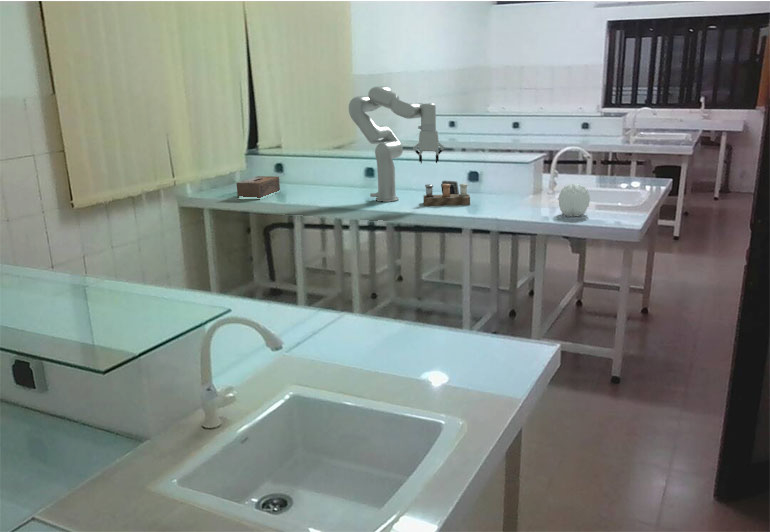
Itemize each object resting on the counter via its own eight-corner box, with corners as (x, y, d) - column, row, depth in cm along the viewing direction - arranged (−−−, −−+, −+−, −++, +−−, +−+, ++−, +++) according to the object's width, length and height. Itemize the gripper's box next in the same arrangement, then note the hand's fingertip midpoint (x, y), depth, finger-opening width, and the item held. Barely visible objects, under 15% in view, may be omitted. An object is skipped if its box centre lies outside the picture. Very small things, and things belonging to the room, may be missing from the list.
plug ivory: (459, 198, 341) (459, 184, 339) (459, 196, 345) (459, 183, 343) (467, 197, 341) (467, 184, 339) (467, 196, 345) (467, 183, 343)
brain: (556, 229, 311) (556, 203, 298) (560, 202, 321) (559, 176, 308) (588, 230, 306) (588, 204, 293) (590, 202, 317) (591, 176, 303)
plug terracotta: (442, 198, 342) (442, 185, 340) (442, 197, 346) (442, 183, 344) (450, 198, 342) (450, 185, 340) (450, 196, 346) (450, 183, 344)
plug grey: (425, 198, 342) (425, 185, 340) (425, 197, 346) (425, 184, 344) (433, 198, 342) (433, 185, 340) (433, 197, 346) (433, 184, 344)
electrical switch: (459, 196, 363) (458, 180, 360) (455, 199, 359) (454, 182, 356) (444, 195, 368) (443, 179, 365) (440, 198, 364) (439, 181, 361)
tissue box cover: (259, 192, 402) (257, 176, 400) (280, 192, 398) (278, 176, 395) (237, 200, 379) (236, 182, 376) (260, 200, 375) (258, 183, 372)
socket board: (423, 206, 340) (423, 198, 339) (423, 202, 350) (423, 195, 349) (470, 204, 339) (470, 197, 338) (468, 201, 349) (468, 194, 348)
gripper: (411, 129, 331) (412, 164, 336) (445, 128, 330) (446, 163, 335) (411, 128, 338) (412, 162, 343) (445, 127, 337) (445, 161, 342)
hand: (428, 162), depth 339 cm, fingers open, 7 cm apart
